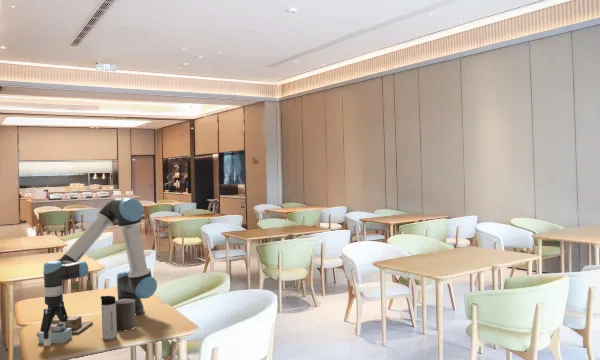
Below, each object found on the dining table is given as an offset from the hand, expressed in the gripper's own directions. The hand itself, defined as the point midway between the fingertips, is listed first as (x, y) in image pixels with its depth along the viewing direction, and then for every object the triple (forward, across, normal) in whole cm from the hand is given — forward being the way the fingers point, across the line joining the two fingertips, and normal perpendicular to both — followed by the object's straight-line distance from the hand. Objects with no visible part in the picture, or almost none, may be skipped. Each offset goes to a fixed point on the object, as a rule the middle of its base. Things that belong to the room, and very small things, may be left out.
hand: (55, 340), depth 229 cm
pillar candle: (0, -16, +27) cm, 32 cm away
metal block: (-3, 0, +2) cm, 4 cm away
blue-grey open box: (+1, 0, 0) cm, 1 cm away
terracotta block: (-3, 0, -2) cm, 4 cm away
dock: (0, -16, -3) cm, 16 cm away
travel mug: (0, -1, +25) cm, 25 cm away
